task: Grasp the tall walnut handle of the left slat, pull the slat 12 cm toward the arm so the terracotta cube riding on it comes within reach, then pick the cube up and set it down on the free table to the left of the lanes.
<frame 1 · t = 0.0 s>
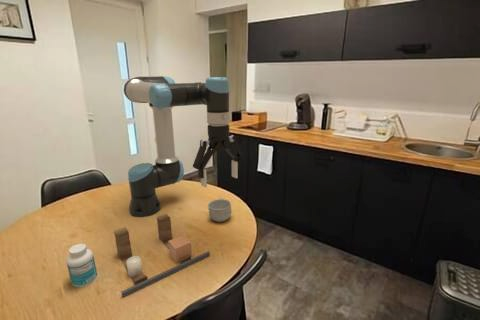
hand: (219, 181, 97), 28 cm above the table, fingers open, 13 cm apart
strip A: (173, 238, 100), point 6 cm above the table, slide at 0.0 cm, touching cube
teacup: (220, 217, 127), on the table
cube: (180, 255, 97), point 1 cm above the table, touching strip A
pill bottle: (85, 282, 87), on the table
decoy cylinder: (135, 272, 89), point 1 cm above the table, touching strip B
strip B: (130, 255, 91), point 6 cm above the table, slide at 0.0 cm, touching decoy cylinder
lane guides: (154, 260, 97), on the table
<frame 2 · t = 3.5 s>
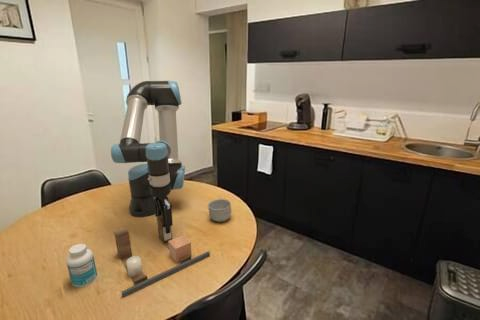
hand: (165, 236, 107), 3 cm above the table, fingers closed on strip A, 4 cm apart
strip A: (173, 238, 100), point 6 cm above the table, slide at 0.0 cm, touching cube, gripper
everything else where it was.
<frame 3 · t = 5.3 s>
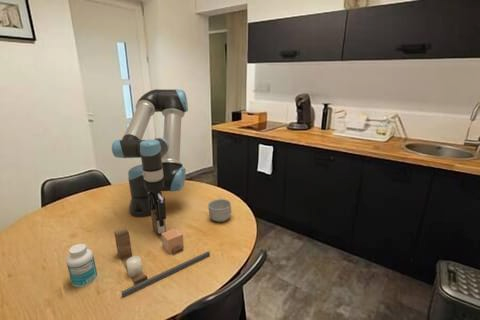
hand: (159, 229, 112), 3 cm above the table, fingers closed on strip A, 4 cm apart
strip A: (166, 231, 105), point 6 cm above the table, slide at 6.3 cm, touching cube, gripper
cube: (173, 247, 102), point 1 cm above the table, touching strip A
everything else where it was.
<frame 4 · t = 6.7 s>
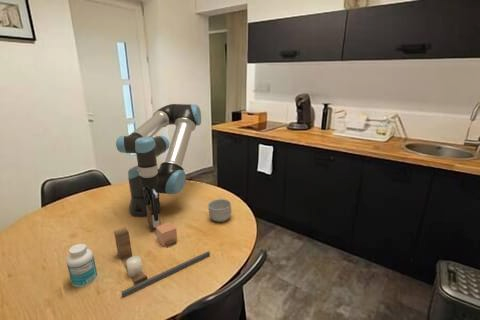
hand: (154, 223, 116), 3 cm above the table, fingers closed on strip A, 4 cm apart
strip A: (160, 225, 109), point 6 cm above the table, slide at 12.0 cm, touching cube, gripper
cube: (167, 240, 106), point 1 cm above the table, touching strip A
everything else where it was.
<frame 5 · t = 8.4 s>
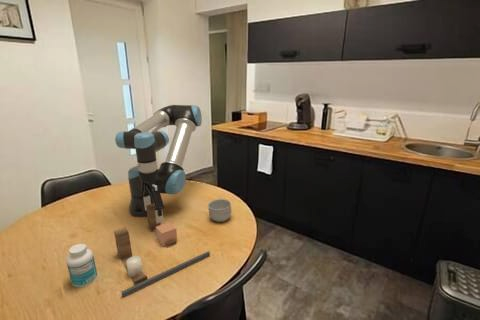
hand: (153, 215, 115), 7 cm above the table, fingers open, 13 cm apart
strip A: (160, 225, 109), point 6 cm above the table, slide at 12.0 cm, touching cube
everything else where it was.
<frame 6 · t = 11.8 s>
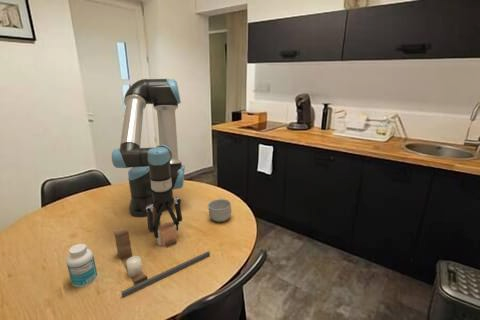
hand: (167, 240, 106), 1 cm above the table, fingers closed on cube, 6 cm apart
cube: (167, 240, 106), point 2 cm above the table, touching gripper, strip A
everything else where it was.
when the fingers open (1 cm above the table, at t = 16.9 s): cube drops 2 cm, on the table.
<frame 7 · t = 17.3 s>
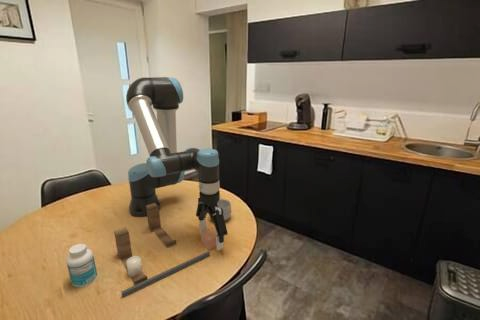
hand: (211, 240, 104), 3 cm above the table, fingers open, 11 cm apart
strip A: (160, 225, 109), point 6 cm above the table, slide at 12.0 cm
cube: (211, 247, 105), on the table
everything else where it was.
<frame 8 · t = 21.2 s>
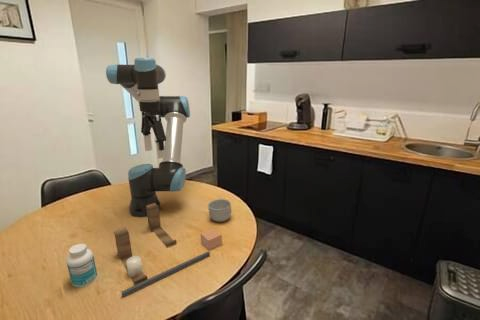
hand: (154, 154, 107), 35 cm above the table, fingers open, 13 cm apart
nothing on the table moved.
at the end: strip A slide at 12.0 cm; cube inside the target area (0.1 cm from its centre), on the table; the gripper is holding nothing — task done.
